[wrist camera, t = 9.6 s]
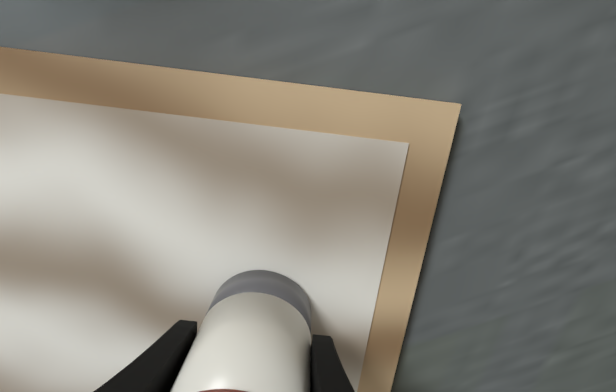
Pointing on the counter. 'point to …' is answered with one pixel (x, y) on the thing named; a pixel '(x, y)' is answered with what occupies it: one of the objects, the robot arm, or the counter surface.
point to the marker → (251, 338)
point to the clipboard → (202, 210)
